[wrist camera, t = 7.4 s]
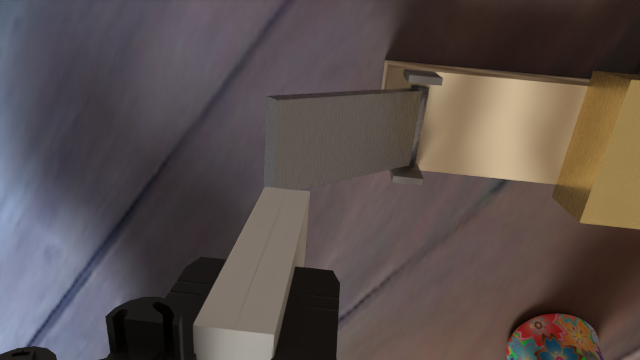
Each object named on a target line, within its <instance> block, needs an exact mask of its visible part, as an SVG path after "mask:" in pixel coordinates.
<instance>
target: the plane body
mask: <svg viewBox="0 0 640 360" xmlns="http://www.w3.org/2000/svg"><path fill="white" fill-rule="evenodd" d="M589 82H590V79H585V78H574V77H563V76H553V75H542V74H531V73H521V72H510V71H499V70H489V69H478V68H467V67H457V66H446V65H435V64H425V63H414V62H403V61H393V60H384V68H383V75H382V82H381V90H382V89H400V88H411V85H412V84H419V85H426V86H429V87H430V90H429V95H428V101H427V106H426V112H425V117H424V123H423V128H422V134H421V139H420V145H419V150H418V156H417V161H416V167H414V168H405V167H399V168H395V169H390V174H391V179H392V182H395V183H404V184H413V185H423V180H424V179H423V176H422V174H421V171H420V170H424V171H434V172H443V173H453V174H462V175H472V176H481V177H491V178H500V179H510V180H519V181H529V182H538V183H548V184H556V183H557V180H558V177H559V174H560V171H561V168H562V165H563V162H564V159H565V155H566V152H567V149H568V146H569V143H570V140H571V137H572V134H573V131H574V128H575V125H576V122H577V119H578V116H579V113H580V110H581V106H582V103H583V100H584V97H585V94H586V91H587V88H588V85H589Z"/></svg>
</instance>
